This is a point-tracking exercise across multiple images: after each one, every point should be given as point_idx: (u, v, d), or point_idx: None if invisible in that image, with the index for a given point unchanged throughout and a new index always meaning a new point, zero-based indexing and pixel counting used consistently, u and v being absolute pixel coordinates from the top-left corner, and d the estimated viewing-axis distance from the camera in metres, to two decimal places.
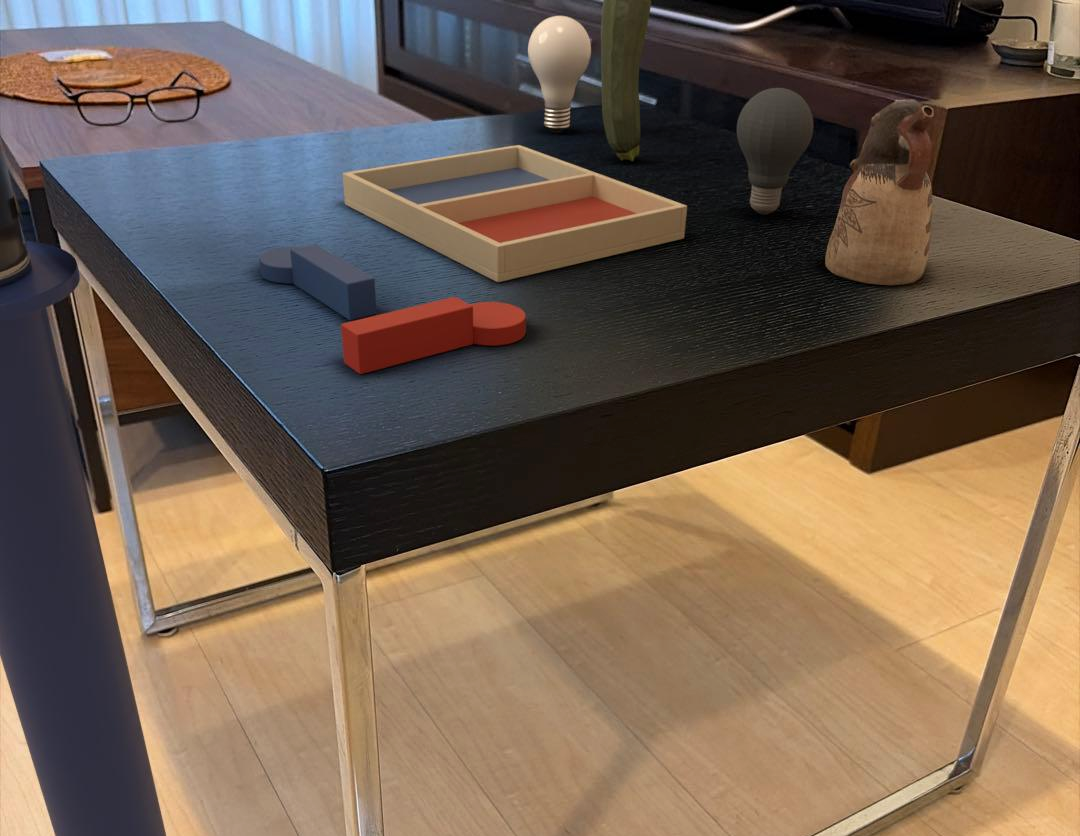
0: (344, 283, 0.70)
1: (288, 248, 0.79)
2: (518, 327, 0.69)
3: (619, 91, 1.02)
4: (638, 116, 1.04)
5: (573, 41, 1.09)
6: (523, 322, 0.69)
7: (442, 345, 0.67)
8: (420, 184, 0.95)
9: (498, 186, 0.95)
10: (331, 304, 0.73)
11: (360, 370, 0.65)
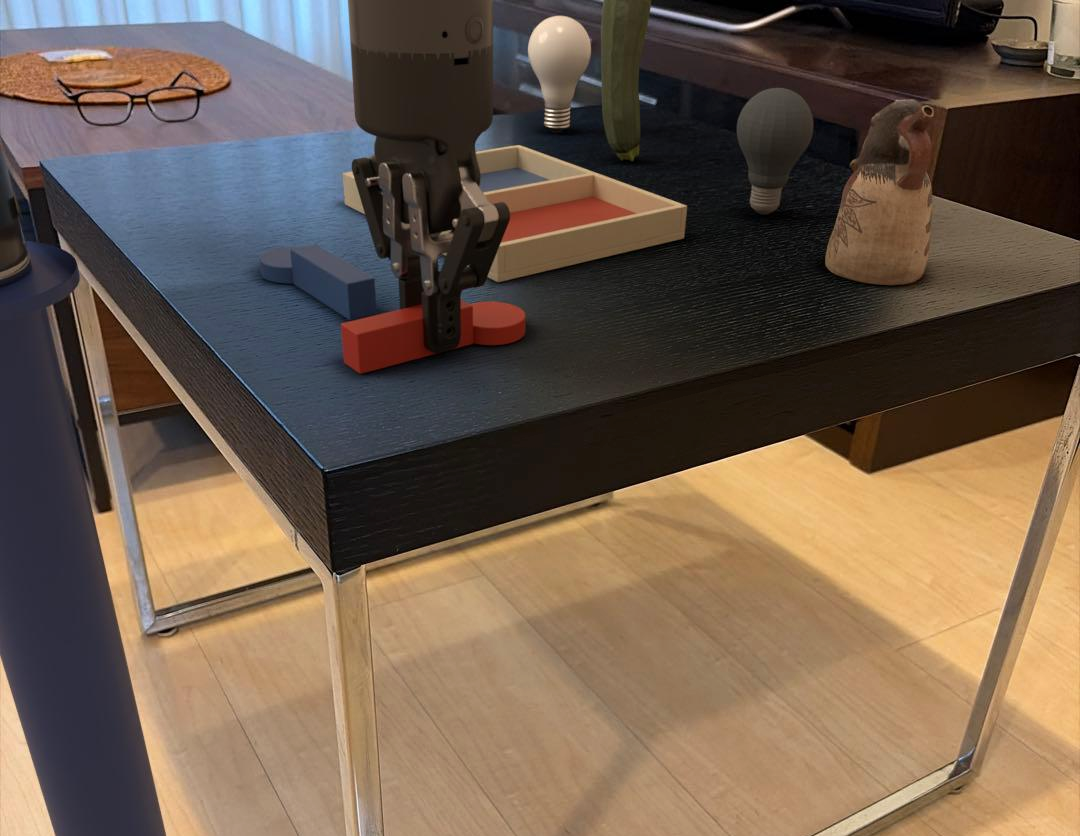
0: (344, 283, 0.70)
1: (288, 248, 0.79)
2: (517, 326, 0.69)
3: (619, 91, 1.02)
4: (638, 116, 1.04)
5: (573, 41, 1.09)
6: (523, 322, 0.69)
7: None
8: None
9: (498, 186, 0.95)
10: (331, 304, 0.73)
11: (360, 370, 0.65)
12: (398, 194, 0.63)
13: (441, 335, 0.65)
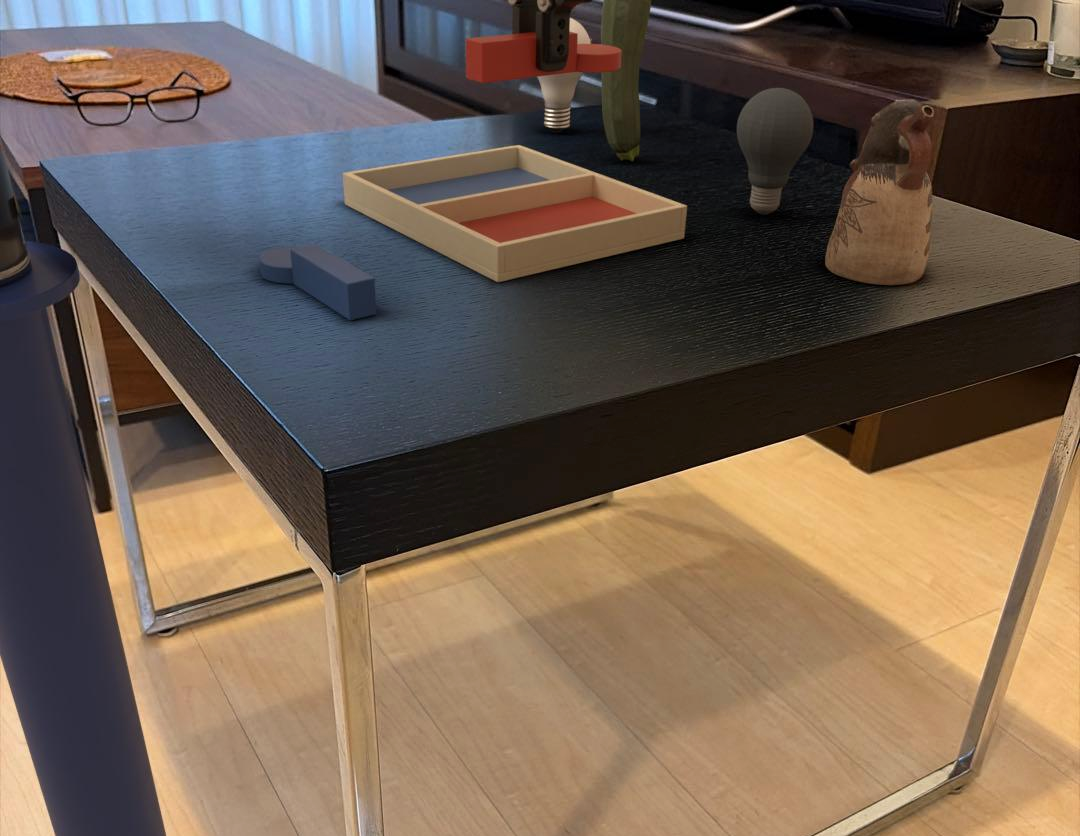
0: (344, 283, 0.70)
1: (288, 248, 0.79)
2: (615, 57, 0.78)
3: (619, 91, 1.02)
4: (638, 116, 1.04)
5: None
6: (620, 54, 0.78)
7: None
8: (420, 184, 0.95)
9: (498, 186, 0.95)
10: (331, 304, 0.73)
11: (483, 79, 0.74)
12: None
13: (552, 51, 0.74)
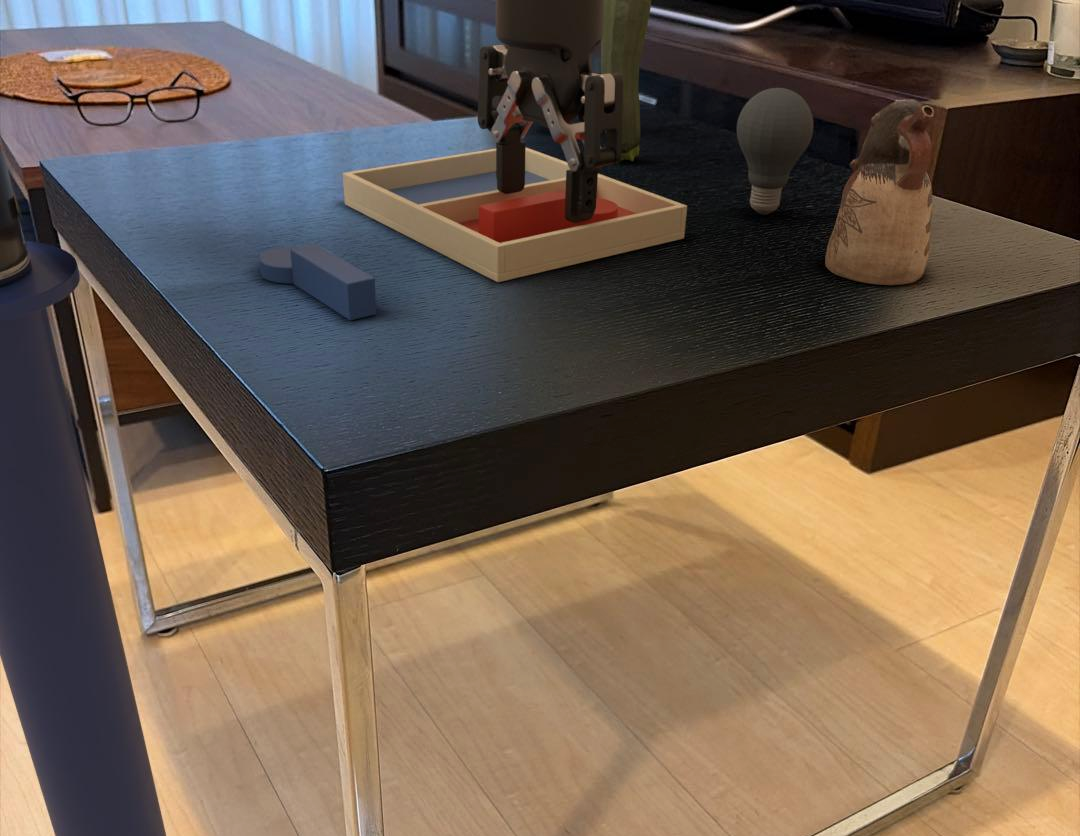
0: (344, 283, 0.70)
1: (288, 248, 0.79)
2: (613, 214, 0.86)
3: None
4: (638, 116, 1.04)
5: None
6: (616, 210, 0.87)
7: (554, 226, 0.85)
8: (420, 184, 0.95)
9: None
10: (331, 304, 0.73)
11: None
12: (519, 96, 0.81)
13: (581, 206, 0.80)
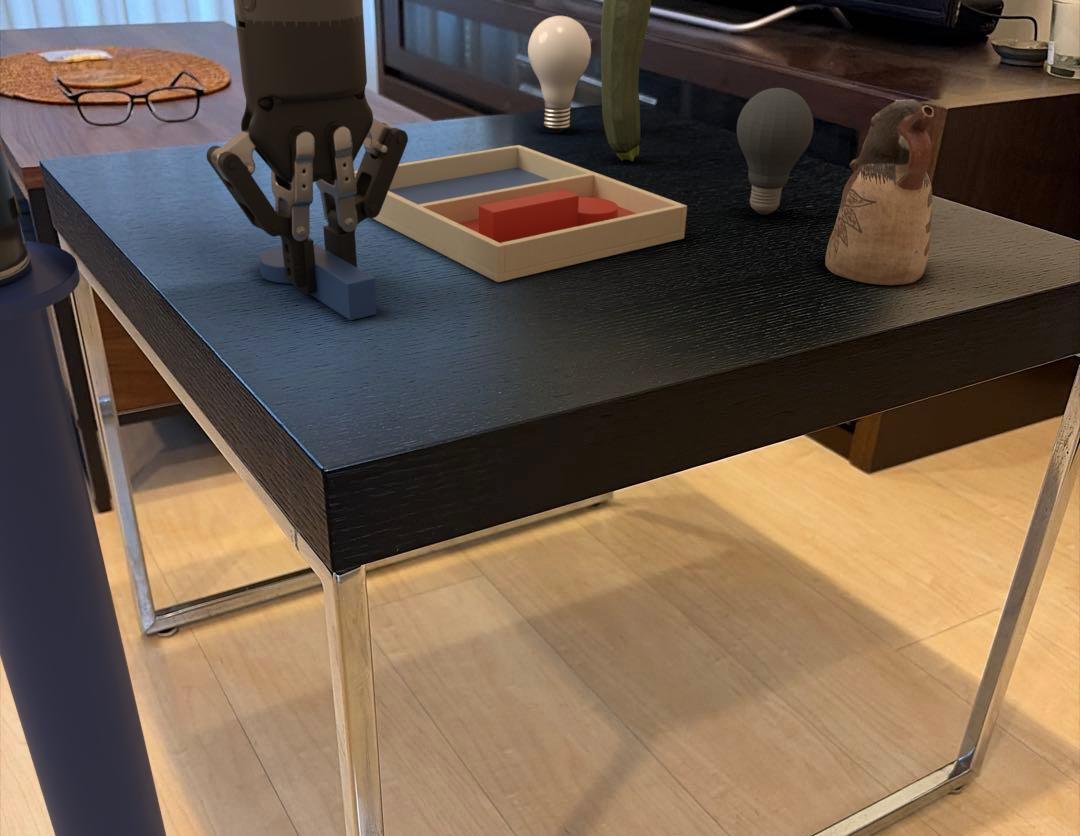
0: (345, 283, 0.70)
1: None
2: (613, 214, 0.86)
3: (619, 91, 1.02)
4: (638, 116, 1.04)
5: (573, 41, 1.09)
6: (616, 210, 0.87)
7: (554, 226, 0.85)
8: (420, 184, 0.95)
9: (498, 186, 0.95)
10: (331, 304, 0.73)
11: None
12: None
13: None
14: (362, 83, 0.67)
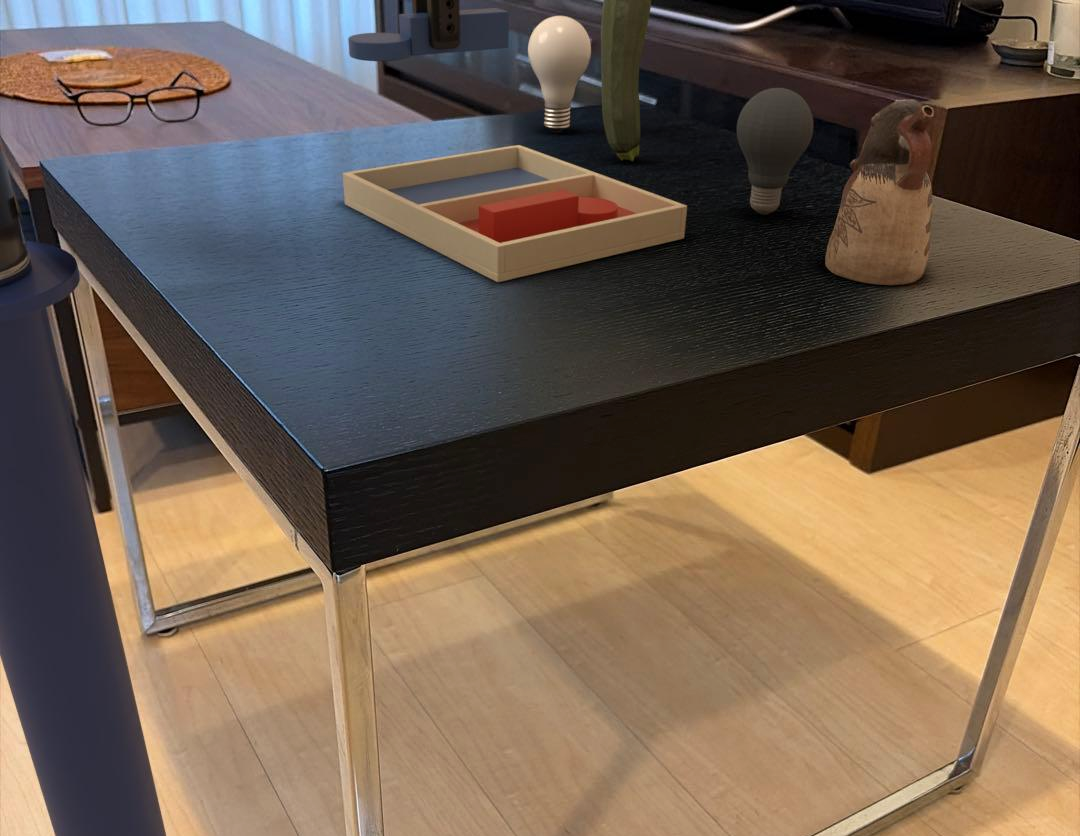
0: (505, 13, 0.82)
1: (354, 38, 0.79)
2: (613, 214, 0.86)
3: (619, 91, 1.02)
4: (638, 116, 1.04)
5: (573, 41, 1.09)
6: (616, 210, 0.87)
7: (554, 226, 0.85)
8: (420, 184, 0.95)
9: (498, 186, 0.95)
10: (480, 45, 0.82)
11: None
12: None
13: (442, 30, 0.79)
14: None
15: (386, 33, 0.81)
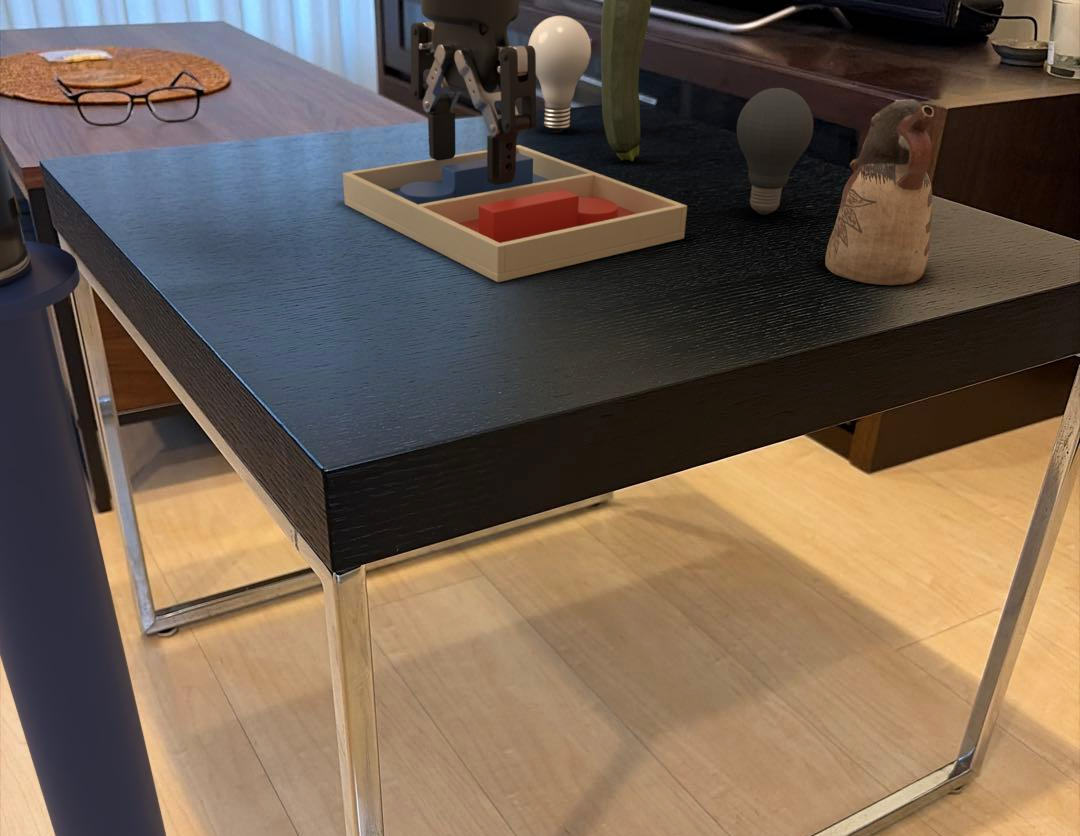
0: (530, 160, 0.94)
1: (405, 190, 0.90)
2: (613, 214, 0.86)
3: (619, 91, 1.02)
4: (638, 116, 1.04)
5: (573, 41, 1.09)
6: (616, 210, 0.87)
7: (554, 226, 0.85)
8: None
9: None
10: None
11: None
12: (445, 68, 0.88)
13: (501, 169, 0.87)
14: None
15: (430, 182, 0.91)
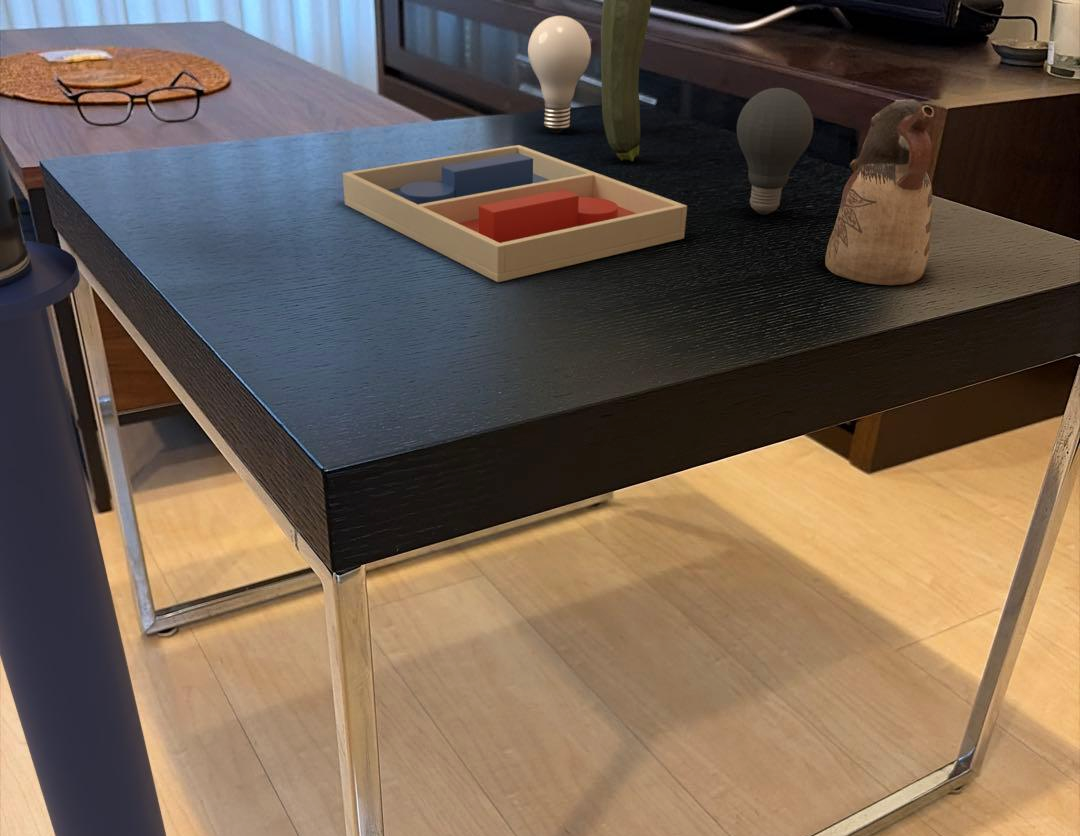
0: (530, 160, 0.94)
1: (405, 190, 0.90)
2: (613, 214, 0.86)
3: (619, 91, 1.02)
4: (638, 116, 1.04)
5: (573, 41, 1.09)
6: (616, 210, 0.87)
7: (554, 226, 0.85)
8: None
9: None
10: None
11: None
12: None
13: None
14: None
15: (430, 182, 0.91)
